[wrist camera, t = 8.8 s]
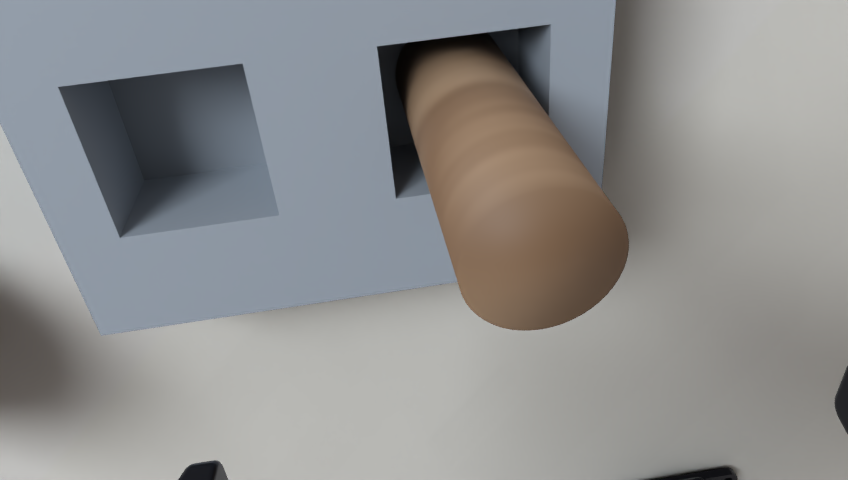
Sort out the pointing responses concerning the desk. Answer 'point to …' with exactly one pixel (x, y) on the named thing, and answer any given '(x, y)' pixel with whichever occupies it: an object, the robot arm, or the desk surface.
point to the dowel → (507, 187)
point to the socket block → (258, 141)
